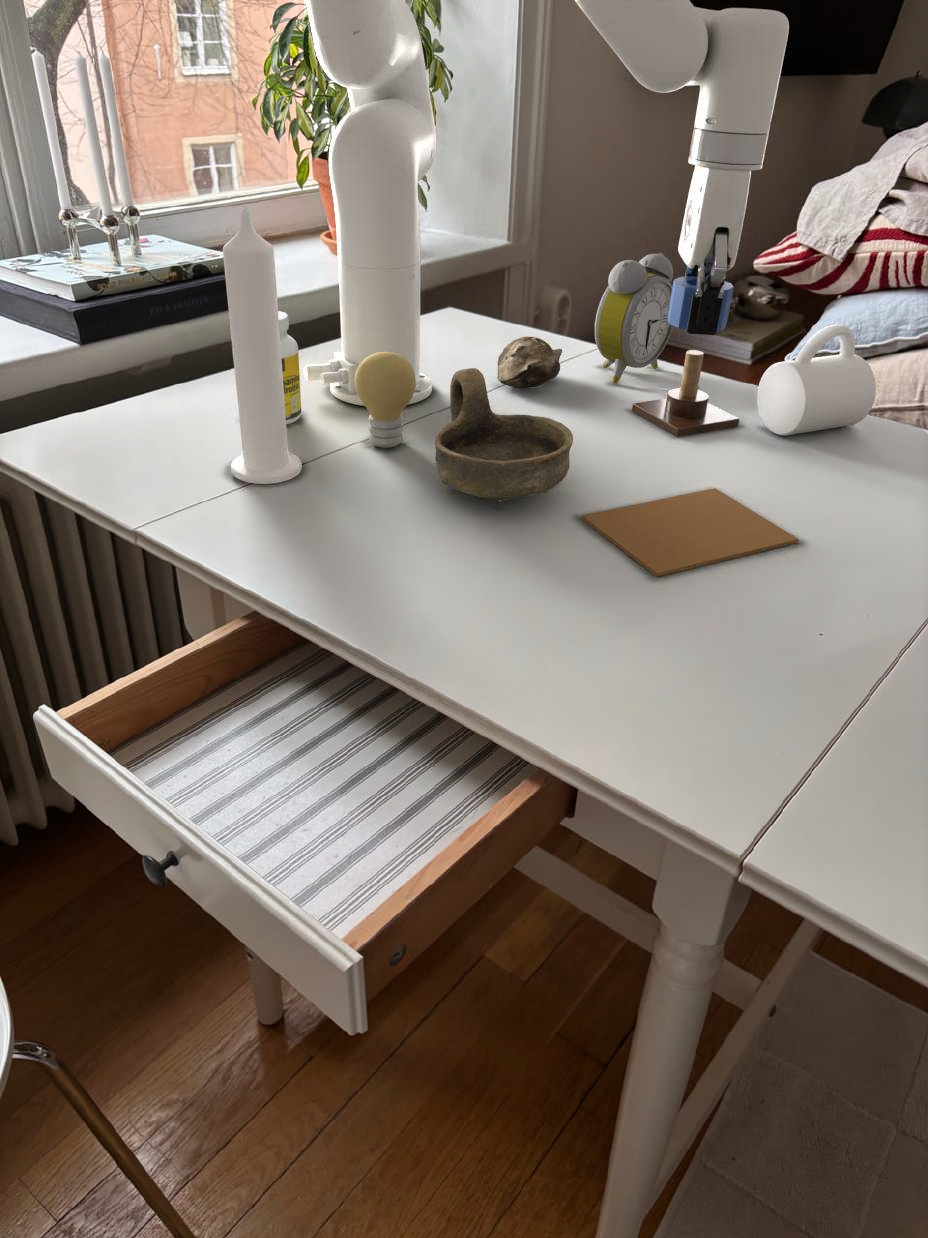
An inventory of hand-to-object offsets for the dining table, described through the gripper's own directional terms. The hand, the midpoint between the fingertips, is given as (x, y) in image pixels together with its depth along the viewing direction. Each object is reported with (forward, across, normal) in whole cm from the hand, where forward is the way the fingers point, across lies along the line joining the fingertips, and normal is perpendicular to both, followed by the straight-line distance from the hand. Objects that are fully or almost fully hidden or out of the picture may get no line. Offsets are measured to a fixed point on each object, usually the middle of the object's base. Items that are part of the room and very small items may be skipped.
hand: (696, 323), depth 108 cm
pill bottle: (+12, +7, -47) cm, 49 cm away
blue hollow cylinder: (0, 0, 0) cm, 0 cm away
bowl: (+12, +22, -21) cm, 33 cm away
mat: (+11, +30, -3) cm, 32 cm away
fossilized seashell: (+12, -10, -18) cm, 24 cm away
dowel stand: (+11, 0, +1) cm, 11 cm away
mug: (+11, +1, +15) cm, 19 cm away
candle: (+12, +22, -45) cm, 51 cm away
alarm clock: (+12, -16, -5) cm, 21 cm away
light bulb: (+12, +13, -34) cm, 38 cm away
